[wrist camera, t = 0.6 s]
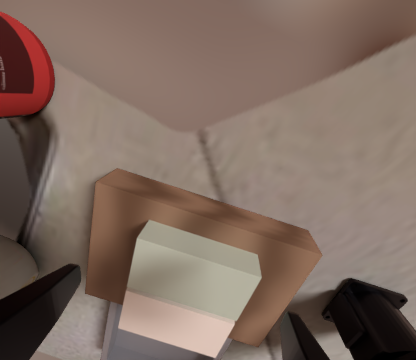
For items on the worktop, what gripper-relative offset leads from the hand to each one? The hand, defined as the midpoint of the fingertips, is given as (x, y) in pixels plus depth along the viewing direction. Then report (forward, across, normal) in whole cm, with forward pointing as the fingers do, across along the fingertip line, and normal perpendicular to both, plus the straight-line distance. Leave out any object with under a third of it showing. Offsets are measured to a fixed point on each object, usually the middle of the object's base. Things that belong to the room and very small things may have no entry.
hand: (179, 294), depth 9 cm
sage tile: (+9, 0, +6) cm, 11 cm away
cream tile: (+9, +1, +12) cm, 15 cm away
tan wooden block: (+12, 0, +8) cm, 15 cm away
